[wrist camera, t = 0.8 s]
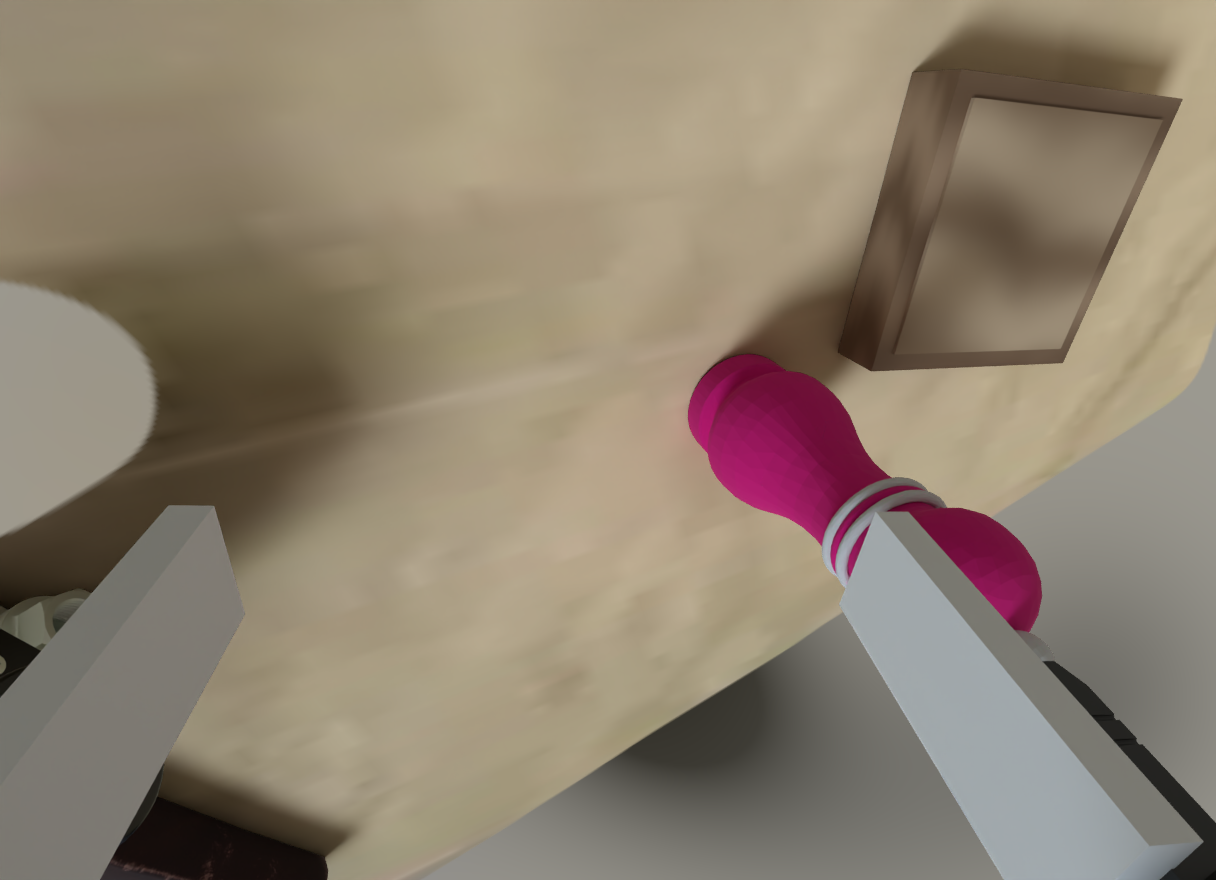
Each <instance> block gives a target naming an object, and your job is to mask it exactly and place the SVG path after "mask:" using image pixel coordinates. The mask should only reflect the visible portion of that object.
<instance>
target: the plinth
mask: <svg viewBox="0 0 1216 880" xmlns="http://www.w3.org/2000/svg"><path fill="white" fill-rule="evenodd" d="M1182 100H1183V99H1179V98H1172V97H1164V96H1157V95H1150V94H1142V93H1135V92H1128V91H1120V90H1113V89H1106V88H1098V87H1091V86H1083V85H1076V84H1069V83H1061V82H1054V81H1047V80H1039V79H1032V78H1024V77H1017V76H1010V75H1002V74H995V73H988V72H980V71H973V70H965V69H954V70H939V71H925V72H912V76H911V80H910V84H909V87H908V91H907V95H906V99H905V102H904V106H903V110H902V114H901V117H900V121H899V125H898V129H897V132H896V136H895V140H894V144H893V147H892V151H891V155H890V159H889V162H888V166H887V170H886V174H885V177H884V181H883V185H882V189H881V192H880V196H879V200H878V204H877V207H876V211H875V215H874V219H873V222H872V226H871V230H870V234H869V237H868V241H867V245H866V249H865V252H864V256H863V260H862V264H861V267H860V271H859V275H858V279H857V282H856V286H855V290H854V294H853V297H852V301H851V305H850V309H849V313H848V316H847V320H846V324H845V328H844V331H843V335H842V339H841V343H840V346H839V350H838V353H840V354H842V355H844V356H845V357H847V358H849V359H851V360H852V361H854V362H856V363H858V364H859V365H861V366H863V367H865V368H866V369H868V370H870V371H889V370H913V369H936V368H959V367H982V366H1005V365H1028V364H1052V363H1063V362H1064V359H1065V357H1066V355H1067V353H1068V351H1069V348H1070V346H1071V344H1072V342H1073V340H1074V337H1075V335H1076V333H1077V331H1078V329H1079V326H1080V324H1081V322H1082V320H1083V318H1084V315H1085V313H1086V311H1087V309H1088V307H1089V304H1090V302H1091V300H1092V298H1093V296H1094V293H1095V291H1096V289H1097V287H1098V285H1099V282H1100V280H1101V278H1102V276H1103V274H1104V271H1105V269H1106V267H1107V265H1108V263H1109V260H1110V258H1111V256H1112V254H1113V252H1114V249H1115V247H1116V245H1117V243H1118V241H1119V238H1120V236H1121V234H1122V232H1123V230H1124V227H1125V225H1126V223H1127V221H1128V218H1129V216H1130V214H1131V212H1132V210H1133V207H1134V205H1135V203H1136V201H1137V199H1138V196H1139V194H1140V192H1141V190H1142V188H1143V185H1144V183H1145V181H1146V179H1147V177H1148V174H1149V172H1150V170H1151V168H1152V166H1153V163H1154V161H1155V159H1156V157H1157V155H1158V152H1159V150H1160V148H1161V146H1162V144H1163V141H1164V139H1165V137H1166V135H1167V133H1168V130H1169V128H1170V126H1171V124H1172V122H1173V119H1174V117H1175V115H1176V113H1177V111H1178V108H1179V106H1180V104H1181V102H1182Z"/></svg>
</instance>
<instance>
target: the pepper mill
mask: <svg viewBox="0 0 1216 880" xmlns="http://www.w3.org/2000/svg"><path fill="white" fill-rule="evenodd" d="M688 421H689V427H690V430H691V432H692V434H693V436H694V438H695V439H696V441H697V442H698V443H699V444H700V445H701V446H702V448H703V449H704V450H705V451H706V452H707V453H708V457H709V461H710V465H711V468H712V470H713V472H714V474H715V475H716V477H717V479H718V480H719V481H720V482H721V483H722V485H723V486H724V487H726V488H727V489H728V490H729V491H730V492H731V493H732V494H733V495H734V496H735V497H737V498H738V499H740V500H741V501H743V502H745V503H747V504H749V505H751V506H753V507H755V508H757V509H760V510H763V511H767V512H770V513H774V514H777V515H781V516H783V517H786V518H789V519H790V520H792V521H794V522H795V523H797V524H798V525H800V526H802V527H803V528H804V529H805V530H806V531H808V532H809V533H810V534H811V535H812V536H813V537H814V538H815V539H816V540H817V541H818V542H819V543H820V545H821V546H822V557H823V560H824V563H825V565H826V567H827V568H828V570H829V571H830V572H831V573H832V574H834V575H835V576H837V577H838V579H839V581H840V583H841V584H842V585H843V586H844V587H845V588H846V586H847V584H848V581H849V579H850V576H851V573H852V571H853V568H854V566H855V563H856V561H857V558H858V555H859V553H860V550H861V548H862V545H863V543H864V540H865V537H866V535H867V532H868V530H869V527H870V525H871V522H872V519H873V517H874V514H875V512H876V511H877V512H909V513H910V514H911V515H912V516H913V518H914V519H915V520H916V521H917V522H918V523H919V524H920V525H921V527H922V528H923V529H924V530H925V531H926V532H927V533H928V534H929V535H930V537H931V538H932V539H933V540H934V541H935V542H936V543H937V544H938V546H939V547H940V548H941V549H942V550H943V551H944V552H945V553H946V554H947V556H948V557H949V558H950V559H951V560H952V561H953V562H954V563H955V564H956V566H957V567H958V568H959V569H960V570H961V571H962V572H963V573H964V575H965V576H966V577H967V578H968V579H969V580H970V581H971V582H972V583H973V585H974V586H975V587H976V588H977V589H978V590H979V591H980V592H981V594H982V595H983V596H984V597H985V598H986V599H987V600H988V601H989V602H990V604H991V605H992V606H993V607H994V608H995V609H996V610H997V611H998V612H999V614H1000V615H1001V616H1002V617H1003V618H1004V619H1005V620H1006V621H1007V623H1008V624H1009V625H1010V626H1011V627H1012V628H1013V629H1014V630H1015V631H1016V633H1017V634H1018V635H1019V636H1020V637H1021V638H1022V639H1023V640H1024V642H1025V643H1026V644H1027V645H1028V646H1029V647H1030V648H1031V649H1032V650H1033V652H1034V653H1035V654H1036V655H1037V656H1038V657H1039V658H1040V659H1041V660H1042V661H1055V658H1054V655H1053V653H1052V652H1051V650H1050V648H1049V647H1048V645H1047V644H1046V643H1045V642H1043V641H1042V640H1041V639H1040V638H1038V637H1037V636H1035V635H1033V634H1031V633H1029V631H1030V630H1031V628H1032V626H1033V624H1034V622H1035V620H1036V618H1037V616H1038V613H1039V608H1040V603H1041V599H1042V591H1041V580H1040V577H1039V574H1038V571H1037V567H1036V564H1035V562H1034V560H1033V559H1032V557H1031V556H1030V554H1029V553H1028V551H1027V550H1026V548H1025V547H1024V546H1023V545H1022V543H1021V542H1020V541H1019V540H1018V539H1017V538H1016V537H1015V536H1014V535H1013V534H1012V533H1010V532H1009V531H1008V530H1007V529H1006V528H1005V527H1004V526H1002V525H1001V524H999V523H998V522H996V521H994V520H993V519H991V518H990V517H988V516H987V515H985V514H981V513H978V512H975V511H971V510H967V509H963V508H947V507H946V505H945V503H944V502H943V500H942V499H941V498H940V497H938V496H937V495H935V494H933V493H931V492H928V491H927V489H926V488H925V487H924V486H923V485H922V484H920V483H919V482H917V481H915V480H912V479H909V478H902V477H895V478H892V477H890V476H888V475H887V474H886V473H885V472H884V471H883V470H881V469H880V468H879V467H878V466H877V465H876V464H875V463H874V462H873V461H872V459H871V458H870V457H869V455H868V454H867V453H866V451H865V449H864V448H863V446H862V444H861V442H860V440H859V438H858V435H857V433H856V430H855V428H854V425H853V423H852V420H851V418H850V416H849V414H848V412H847V411H846V409H845V408H844V406H843V405H842V403H841V402H840V401H839V399H838V398H837V397H836V396H835V395H834V394H833V393H832V392H831V391H830V390H829V389H828V388H826V387H825V386H824V385H823V384H822V383H820V382H819V381H818V380H816V379H815V378H813V377H810V376H808V375H806V374H803V373H799V372H792V371H786V370H785V369H783V368H782V367H780V366H779V365H777V364H776V363H774V362H773V361H772V360H770V359H768V358H766V357H763V356H760V355H755V354H745V355H738V356H735V357H732V358H729V359H726V360H724V361H723V362H721V363H719V364H718V365H716V366H714V367H713V368H712V369H711V370H710V371H709V372H708V373H707V374H706V375H705V376H704V377H703V378H702V379H701V381H700V382H699V384H698V385H697V387H696V388H695V390H694V393H693V395H692V397H691V400H690V404H689V409H688Z"/></svg>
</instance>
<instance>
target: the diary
mask: <svg viewBox="0 0 1216 880" xmlns="http://www.w3.org/2000/svg"><path fill="white" fill-rule="evenodd" d="M327 877H328V868H327V864H326V861H325V857H323V856H320V855H318V854H315V853H312V852H309V851H306V850H303V849H300V848H297V847H294V846H291V845H288V844H285V843H282V842H279V841H276V840H273V839H270V838H267V837H264V836H261V835H258V834H255V833H252V832H249V831H246V830H243V829H241V828H238V827H236V826H233V825H230V824H228V823H225V822H223V821H220V820H217V819H215V818H212V817H209V816H207V815H204V814H201V813H199V812H196V811H193V810H191V809H188V808H185V807H183V806H180V805H177V804H175V803H172V802H169V801H167V800H164V799H162V798H159V797H157V798H156V800H155V803H154V804H153V806H152V808H151V810H150V812H149V814H148V815H147V817H146V818H145V820H144V821H143V822H142V824H141V825H140V826H139V827H138V828H137V830H136V831H135V832H134V833H133V834H132V835H131V836H130V837H129V838H128V839H127V840H125V841H124V842H123V843H122V844H120V845H119V846H118V847H117V849H116V851H115V853H114V855H113V857H112V858H111V860H110V862H109V864H108V866H107V868H106V869H105V871H104V873H103V875H102V877H101V879H100V880H327Z"/></svg>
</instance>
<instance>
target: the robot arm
mask: <svg viewBox="0 0 1216 880" xmlns="http://www.w3.org/2000/svg"><path fill="white" fill-rule="evenodd" d="M839 605H840V607H841V609H842V610H843V612H844V614H845V615H846V617H847V619H848V620H849V622H850V624H851V625H852V627H853V629H854V630H855V632H856V634H857V635H858V637H859V639H860V640H861V642H862V644H863V646H864V647H865V649H866V651H867V652H868V654H869V656H870V657H871V659H872V661H873V662H874V664H875V666H876V667H877V669H878V671H879V672H880V674H881V676H882V677H883V679H884V680H885V682H886V684H887V686H888V687H889V689H890V691H891V692H892V694H893V696H894V697H895V699H896V700H897V702H898V704H899V706H900V707H901V709H902V711H903V712H904V714H905V715H906V717H907V719H908V721H909V722H910V724H911V726H912V727H913V729H914V731H915V732H916V734H917V736H918V737H919V739H920V741H921V742H922V744H923V746H924V747H925V749H926V751H927V752H928V754H929V756H930V757H931V759H932V761H933V762H934V764H935V766H936V767H937V769H938V770H939V772H940V774H941V776H942V777H943V779H944V781H945V782H946V784H947V786H948V787H949V789H950V791H951V792H952V794H953V796H954V797H955V799H956V801H957V802H958V804H959V806H960V807H961V809H962V811H963V812H964V814H965V816H966V817H967V819H968V821H969V822H970V824H971V826H972V827H973V829H974V831H975V832H976V834H977V836H978V837H979V839H980V841H981V842H982V844H983V846H984V847H985V849H986V851H987V852H988V854H989V856H990V857H991V859H992V861H993V862H994V864H995V866H996V867H997V869H998V871H999V873H1000V874H1001V876H1002V878H1003V879H1004V880H1216V823H1215V822H1214V821H1213V819H1212V818H1210V816H1209V815H1208V814H1207V813H1206V812H1205V811H1204V810H1203V809H1202V808H1201V807H1200V805H1199V804H1198V803H1197V802H1196V801H1195V800H1194V799H1193V798H1192V797H1191V796H1190V795H1189V794H1188V793H1187V792H1186V791H1185V789H1184V788H1183V787H1182V786H1181V785H1180V784H1179V783H1178V782H1177V781H1176V780H1175V779H1174V778H1173V777H1172V776H1171V775H1170V773H1169V772H1168V771H1167V770H1166V769H1165V768H1164V767H1163V766H1162V765H1161V764H1160V763H1159V762H1158V761H1157V759H1156V758H1155V757H1154V756H1153V755H1152V754H1151V753H1150V752H1149V751H1148V750H1147V749H1146V748H1145V747H1144V746H1143V745H1139V744H1138V743H1137V741H1136V739H1137V738H1136V737H1135V736H1134V735H1133V734H1132V733H1131V732H1130V731H1129V730H1128V728H1127V727H1126V726H1125V725H1124V724H1123V723H1122V722H1121V721H1120V720H1116V719H1115V718H1114V713H1113V712H1112V711H1111V710H1110V709H1109V708H1108V707H1107V706H1106V705H1105V704H1104V703H1103V702H1102V701H1101V700H1100V699H1099V697H1098V696H1097V695H1096V694H1095V693H1094V692H1093V691H1092V690H1091V689H1090V688H1089V687H1088V686H1087V685H1086V684H1085V683H1083V682H1082V681H1080V680H1079V679H1078V678H1076V677H1075V676H1074V675H1072V674H1071V673H1069V672H1068V671H1067V670H1066V669H1064V668H1063V667H1061V666H1060V665H1059V664H1057V663H1056V662H1055V661H1042V660H1041V659H1040V658H1039V657H1038V656H1037V655H1036V654H1035V653H1034V652H1033V650H1032V649H1031V648H1030V647H1029V646H1028V645H1027V644H1026V643H1025V642H1024V640H1023V639H1022V638H1021V637H1020V636H1019V635H1018V634H1017V633H1016V631H1015V630H1014V629H1013V628H1012V627H1011V626H1010V625H1009V624H1008V623H1007V621H1006V620H1005V619H1004V618H1003V617H1002V616H1001V615H1000V614H999V612H998V611H997V610H996V609H995V608H994V607H993V606H992V605H991V604H990V602H989V601H988V600H987V599H986V598H985V597H984V596H983V595H982V594H981V592H980V591H979V590H978V589H977V588H976V587H975V586H974V585H973V583H972V582H971V581H970V580H969V579H968V578H967V577H966V576H965V575H964V573H963V572H962V571H961V570H960V569H959V568H958V567H957V566H956V564H955V563H954V562H953V561H952V560H951V559H950V558H949V557H948V556H947V554H946V553H945V552H944V551H943V550H942V549H941V548H940V547H939V546H938V544H937V543H936V542H935V541H934V540H933V539H932V538H931V537H930V535H929V534H928V533H927V532H926V531H925V530H924V529H923V528H922V527H921V525H920V524H919V523H918V522H917V521H916V520H915V519H914V518H913V516H912V515H911V514H910V513H909V512H877V511H876V512H875V514H874V517H873V519H872V522H871V525H870V527H869V530H868V532H867V535H866V537H865V540H864V543H863V545H862V548H861V550H860V553H859V555H858V558H857V561H856V563H855V566H854V568H853V571H852V573H851V576H850V579H849V581H848V584H847V586H846V589H845V591H844V594H843V597H842V599H841V602H840V604H839ZM244 615H245V612H244V608H243V605H242V601H241V598H240V594H239V591H238V587H237V584H236V580H235V577H234V573H233V570H232V566H231V563H230V559H229V556H228V552H227V549H226V545H225V542H224V538H223V535H222V531H221V528H220V524H219V521H218V517H217V514H216V510H215V507H214V506H193V505H168V507H167V508H166V509H165V510H164V511H163V512H162V513H161V515H160V516H159V517H158V518H157V519H156V520H155V521H154V523H153V524H152V525H151V526H150V527H149V528H148V529H147V531H146V532H145V533H144V534H143V535H142V536H141V537H140V539H139V540H138V541H137V542H136V543H135V544H134V545H133V547H132V548H131V549H130V550H129V551H128V552H127V553H126V555H125V556H124V557H123V558H122V559H121V560H120V561H119V563H118V564H117V565H116V566H115V567H114V568H113V569H112V571H111V572H110V573H109V574H108V575H107V576H106V577H105V579H104V580H103V581H102V582H101V583H100V584H99V585H98V587H97V588H96V589H95V590H94V591H93V592H92V593H91V595H90V596H89V597H88V598H87V599H86V600H85V601H84V603H83V604H82V605H81V606H80V607H79V608H78V609H77V611H76V612H75V613H74V614H73V615H72V616H71V617H70V619H69V620H68V621H67V622H66V623H65V624H64V625H63V627H62V628H61V629H60V630H59V631H58V632H57V633H56V635H55V636H54V637H53V638H52V639H51V640H50V641H49V643H48V644H47V645H46V646H45V647H44V648H43V649H42V651H41V652H40V653H39V654H38V655H37V656H36V657H35V659H34V660H33V661H32V662H31V663H30V664H29V666H28V667H27V668H26V669H25V670H24V671H23V672H22V674H21V675H20V676H19V677H18V678H17V679H16V680H15V682H14V683H13V684H12V685H11V686H10V687H9V688H8V690H7V691H6V692H5V693H4V694H3V695H0V880H100V879H101V877H102V875H103V873H104V871H105V869H106V868H107V866H108V864H109V862H110V860H111V858H112V857H113V855H114V853H115V851H116V849H117V847H118V846H119V844H120V842H121V840H122V838H123V837H124V835H125V833H126V831H127V829H128V827H129V826H130V824H131V822H132V820H133V818H134V816H135V815H136V813H137V811H138V809H139V807H140V805H141V804H142V802H143V800H144V798H145V796H146V794H147V793H148V791H149V789H150V787H151V785H152V783H153V782H154V780H155V778H156V776H157V774H158V772H159V771H160V769H161V767H162V765H163V763H164V761H165V760H166V758H167V756H168V754H169V752H170V750H171V749H172V747H173V745H174V743H175V741H176V740H177V738H178V736H179V734H180V732H181V730H182V729H183V727H184V725H185V723H186V721H187V719H188V718H189V716H190V714H191V712H192V710H193V708H194V707H195V705H196V703H197V701H198V699H199V697H200V696H201V694H202V692H203V690H204V688H205V686H206V685H207V683H208V681H209V679H210V677H211V675H212V674H213V672H214V670H215V668H216V666H217V664H218V663H219V661H220V659H221V657H222V655H223V653H224V652H225V650H226V648H227V646H228V644H229V643H230V641H231V639H232V637H233V635H234V633H235V632H236V630H237V628H238V626H239V624H240V622H241V621H242V619H243V617H244Z"/></svg>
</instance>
